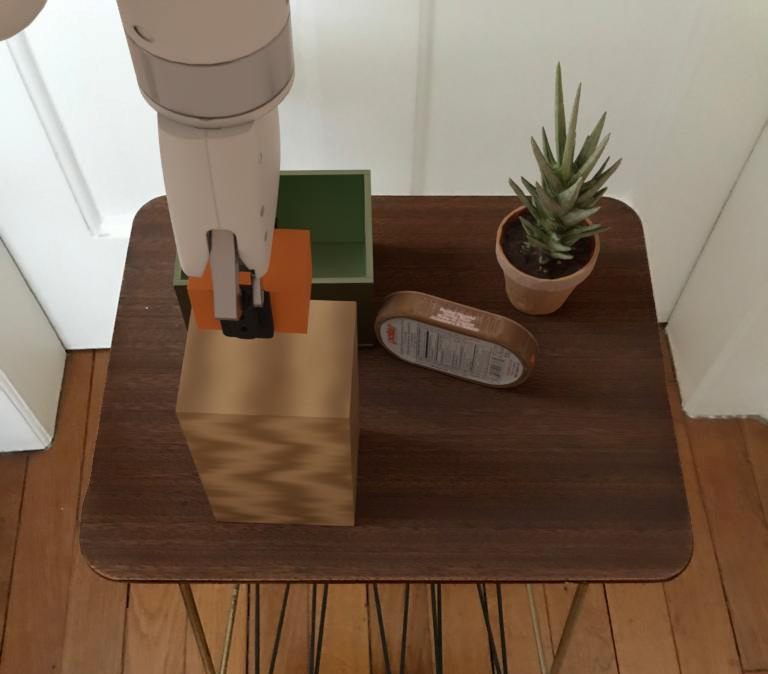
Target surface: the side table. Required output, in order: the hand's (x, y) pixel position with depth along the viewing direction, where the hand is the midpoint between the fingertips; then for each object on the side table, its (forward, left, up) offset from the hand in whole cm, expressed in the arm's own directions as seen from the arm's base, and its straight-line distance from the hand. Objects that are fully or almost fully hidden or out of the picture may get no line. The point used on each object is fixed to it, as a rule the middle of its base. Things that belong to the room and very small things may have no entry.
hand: (253, 296), depth 58 cm
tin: (+19, +4, -25) cm, 31 cm away
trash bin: (+8, +18, -24) cm, 32 cm away
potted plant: (+30, +8, -25) cm, 40 cm away
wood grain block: (0, 0, -24) cm, 24 cm away
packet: (0, 0, 0) cm, 0 cm away
